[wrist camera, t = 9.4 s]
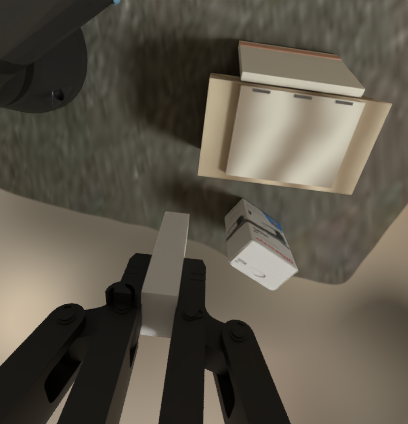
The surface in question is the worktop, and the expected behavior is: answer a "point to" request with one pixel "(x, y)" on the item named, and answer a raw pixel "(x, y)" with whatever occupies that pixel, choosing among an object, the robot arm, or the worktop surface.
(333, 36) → the worktop surface
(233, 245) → the ink box
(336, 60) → the stub
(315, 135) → the ticket block
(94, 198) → the worktop surface
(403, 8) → the worktop surface
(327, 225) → the worktop surface
